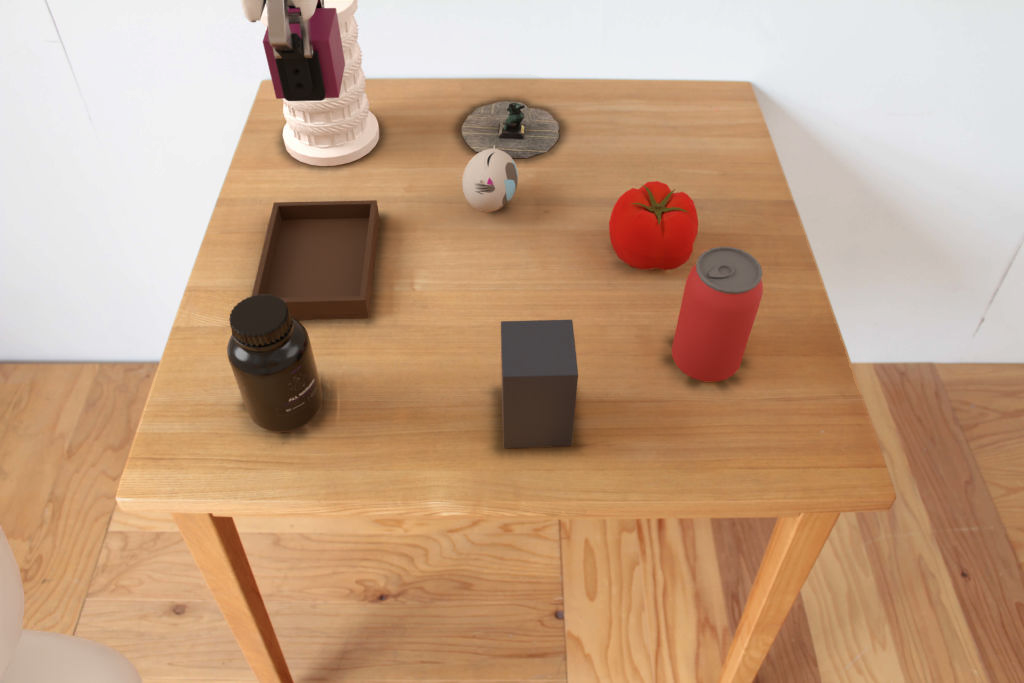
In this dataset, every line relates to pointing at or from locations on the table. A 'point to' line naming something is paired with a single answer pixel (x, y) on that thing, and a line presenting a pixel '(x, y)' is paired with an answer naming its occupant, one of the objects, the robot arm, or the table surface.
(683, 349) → the beer can
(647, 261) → the tomato
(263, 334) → the supplement bottle
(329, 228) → the tray
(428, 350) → the table surface
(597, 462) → the table surface
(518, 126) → the sculpture
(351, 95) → the white tower model
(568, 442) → the bottom block
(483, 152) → the figurine
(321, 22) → the top block
